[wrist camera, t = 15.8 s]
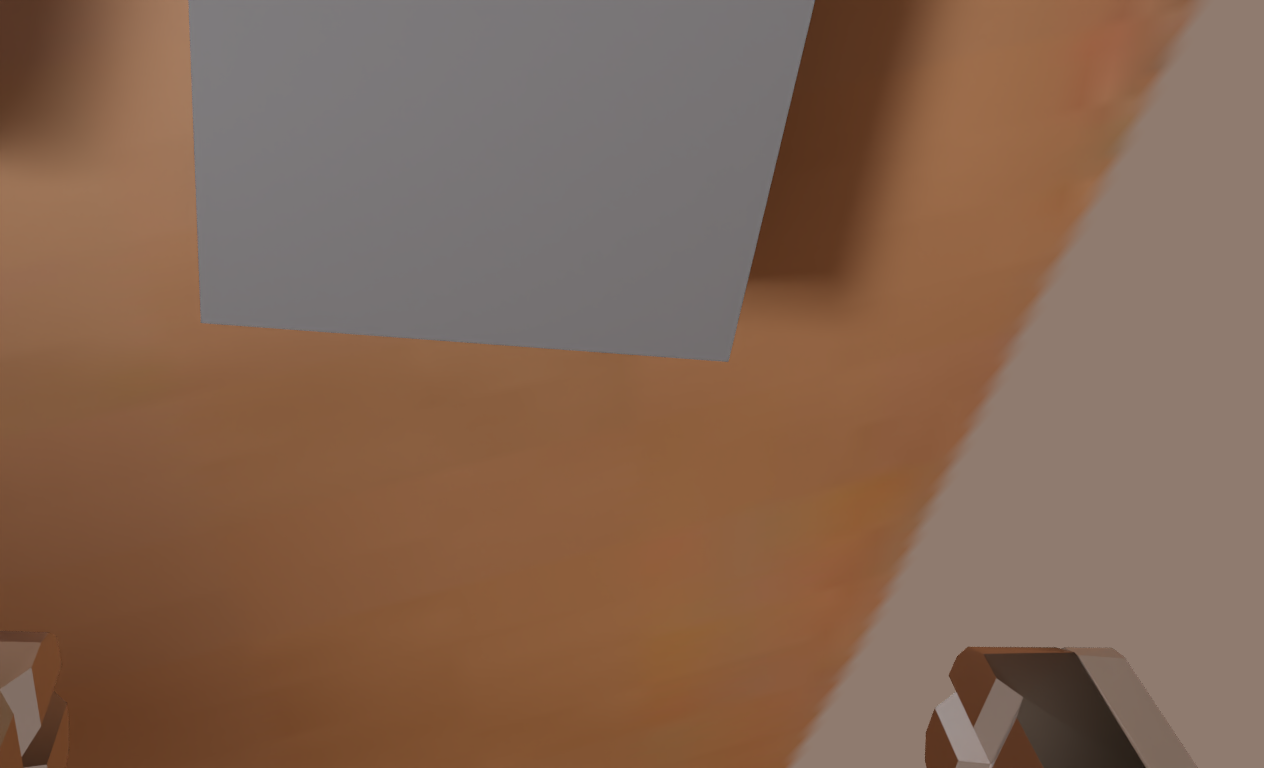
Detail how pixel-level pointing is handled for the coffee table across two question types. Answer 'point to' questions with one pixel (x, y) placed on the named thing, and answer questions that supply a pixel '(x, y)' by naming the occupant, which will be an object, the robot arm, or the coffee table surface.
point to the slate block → (489, 166)
